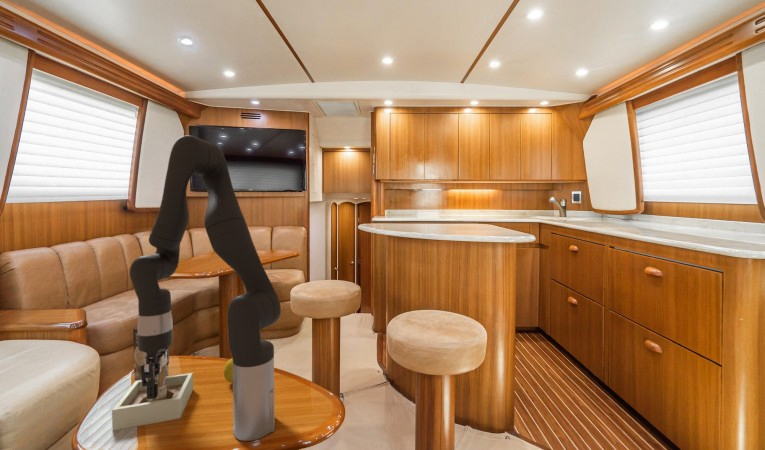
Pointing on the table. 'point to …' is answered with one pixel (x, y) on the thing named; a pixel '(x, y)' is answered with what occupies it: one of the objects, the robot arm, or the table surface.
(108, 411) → the table surface
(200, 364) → the table surface
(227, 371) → the lemon
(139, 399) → the peg box
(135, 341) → the coffee box
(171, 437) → the table surface
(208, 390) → the table surface
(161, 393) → the sprinkles bottle
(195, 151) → the robot arm
